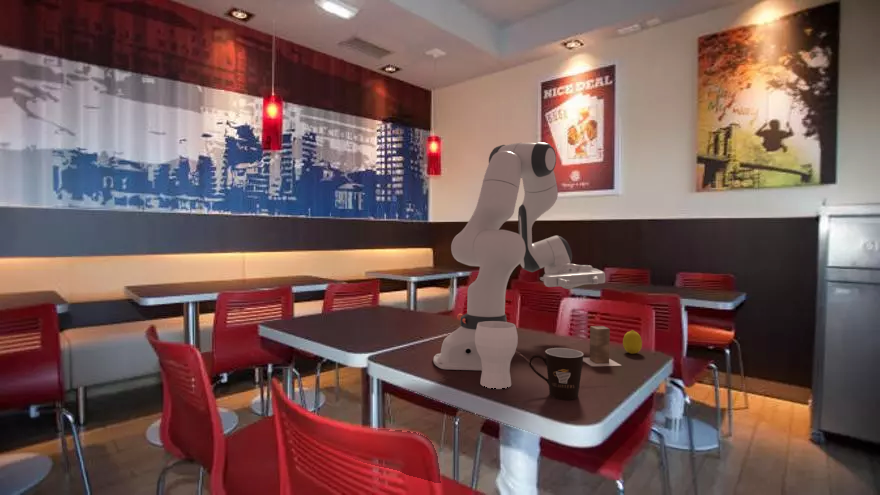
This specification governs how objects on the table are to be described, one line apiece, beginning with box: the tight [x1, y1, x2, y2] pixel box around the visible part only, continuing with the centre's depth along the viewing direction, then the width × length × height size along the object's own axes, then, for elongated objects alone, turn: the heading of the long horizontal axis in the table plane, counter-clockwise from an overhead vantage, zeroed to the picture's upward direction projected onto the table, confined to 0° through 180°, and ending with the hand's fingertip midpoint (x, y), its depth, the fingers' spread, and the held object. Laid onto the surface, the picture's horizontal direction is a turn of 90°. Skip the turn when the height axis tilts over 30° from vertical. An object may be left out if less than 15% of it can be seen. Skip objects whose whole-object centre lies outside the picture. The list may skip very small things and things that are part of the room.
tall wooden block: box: [589, 325, 611, 363], centre depth 130 cm, size 4×4×10 cm
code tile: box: [583, 357, 622, 367], centre depth 130 cm, size 9×9×1 cm
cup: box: [475, 321, 519, 390], centre depth 111 cm, size 11×11×15 cm
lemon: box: [622, 329, 643, 355], centre depth 140 cm, size 6×6×8 cm
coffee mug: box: [528, 347, 584, 401], centre depth 104 cm, size 12×9×10 cm
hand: (582, 282), depth 142 cm, fingers open, 8 cm apart
